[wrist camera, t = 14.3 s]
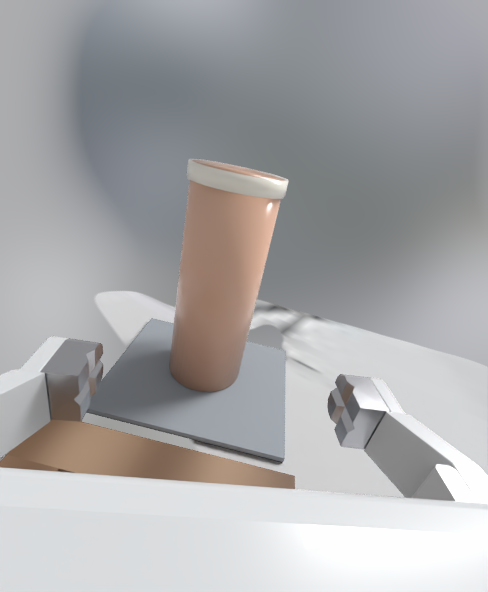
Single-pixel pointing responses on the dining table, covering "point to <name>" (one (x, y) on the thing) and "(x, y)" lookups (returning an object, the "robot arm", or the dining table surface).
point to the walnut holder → (131, 457)
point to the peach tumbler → (221, 269)
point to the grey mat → (198, 396)
